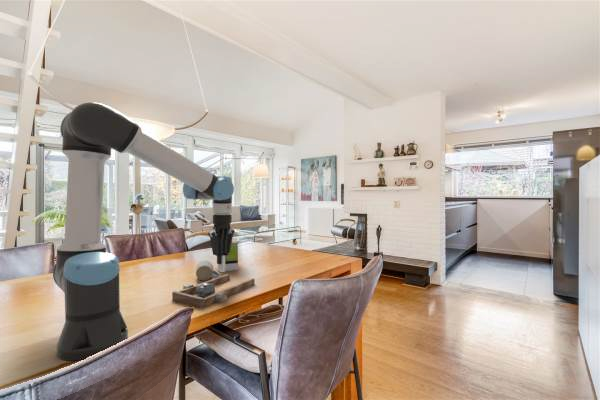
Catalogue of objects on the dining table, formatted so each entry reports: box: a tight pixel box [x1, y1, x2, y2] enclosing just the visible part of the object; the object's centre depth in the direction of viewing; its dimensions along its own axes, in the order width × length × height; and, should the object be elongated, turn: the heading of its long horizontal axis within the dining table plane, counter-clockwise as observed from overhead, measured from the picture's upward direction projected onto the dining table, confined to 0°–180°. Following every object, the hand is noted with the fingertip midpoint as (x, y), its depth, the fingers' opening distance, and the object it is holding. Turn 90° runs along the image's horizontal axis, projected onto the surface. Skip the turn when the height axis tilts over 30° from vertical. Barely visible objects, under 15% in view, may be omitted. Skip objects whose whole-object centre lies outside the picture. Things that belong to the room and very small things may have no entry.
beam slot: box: [171, 273, 255, 309], centre depth 117 cm, size 29×20×3 cm
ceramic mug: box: [195, 260, 221, 282], centre depth 135 cm, size 11×8×8 cm
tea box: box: [225, 237, 239, 272], centre depth 155 cm, size 15×10×15 cm, turn 17°
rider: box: [195, 282, 216, 298], centre depth 112 cm, size 7×7×5 cm
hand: (221, 271), depth 119 cm, fingers closed
